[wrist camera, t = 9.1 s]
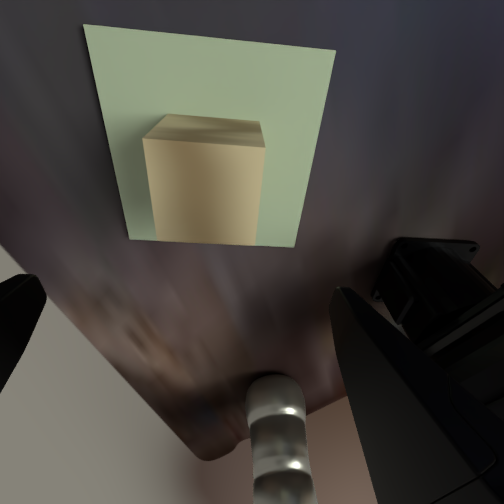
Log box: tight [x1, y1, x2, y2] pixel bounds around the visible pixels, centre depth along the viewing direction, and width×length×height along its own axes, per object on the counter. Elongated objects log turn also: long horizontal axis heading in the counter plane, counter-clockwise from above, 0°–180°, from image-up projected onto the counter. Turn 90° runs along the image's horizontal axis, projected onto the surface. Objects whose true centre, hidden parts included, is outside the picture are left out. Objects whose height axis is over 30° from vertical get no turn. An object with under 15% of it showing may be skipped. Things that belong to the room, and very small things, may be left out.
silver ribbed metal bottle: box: [245, 374, 318, 504], centre depth 25 cm, size 6×7×20 cm
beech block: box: [142, 114, 266, 246], centre depth 15 cm, size 5×5×5 cm
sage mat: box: [83, 24, 336, 247], centre depth 17 cm, size 12×12×1 cm
